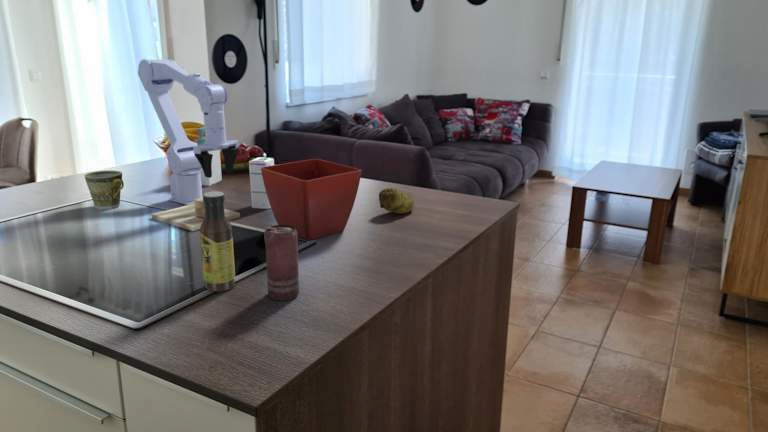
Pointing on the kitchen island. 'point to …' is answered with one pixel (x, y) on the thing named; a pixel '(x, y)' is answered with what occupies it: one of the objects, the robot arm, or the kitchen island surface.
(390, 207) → the yellow-green lumpy oblong piece
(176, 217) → the board
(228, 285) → the sauce bottle
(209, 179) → the soap bottle
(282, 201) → the plant pot
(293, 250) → the can
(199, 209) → the block
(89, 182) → the ceramic cup
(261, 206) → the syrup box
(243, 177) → the kitchen island surface
